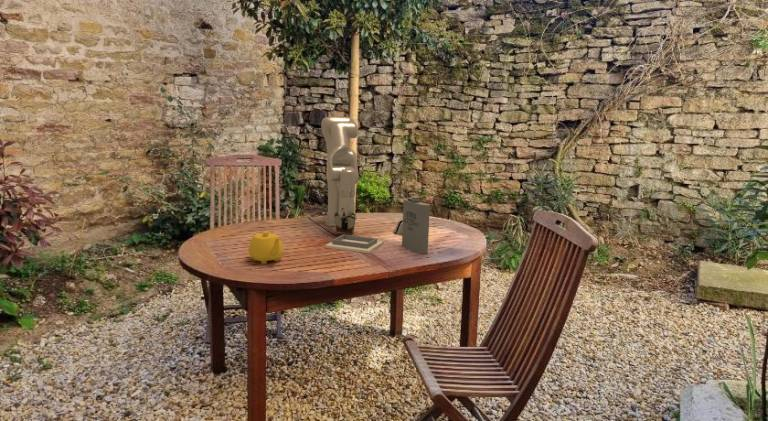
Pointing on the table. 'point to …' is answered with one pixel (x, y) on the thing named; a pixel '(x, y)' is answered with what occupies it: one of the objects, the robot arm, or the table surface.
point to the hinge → (399, 227)
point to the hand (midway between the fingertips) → (346, 228)
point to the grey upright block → (415, 225)
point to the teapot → (265, 247)
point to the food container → (350, 221)
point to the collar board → (354, 243)
